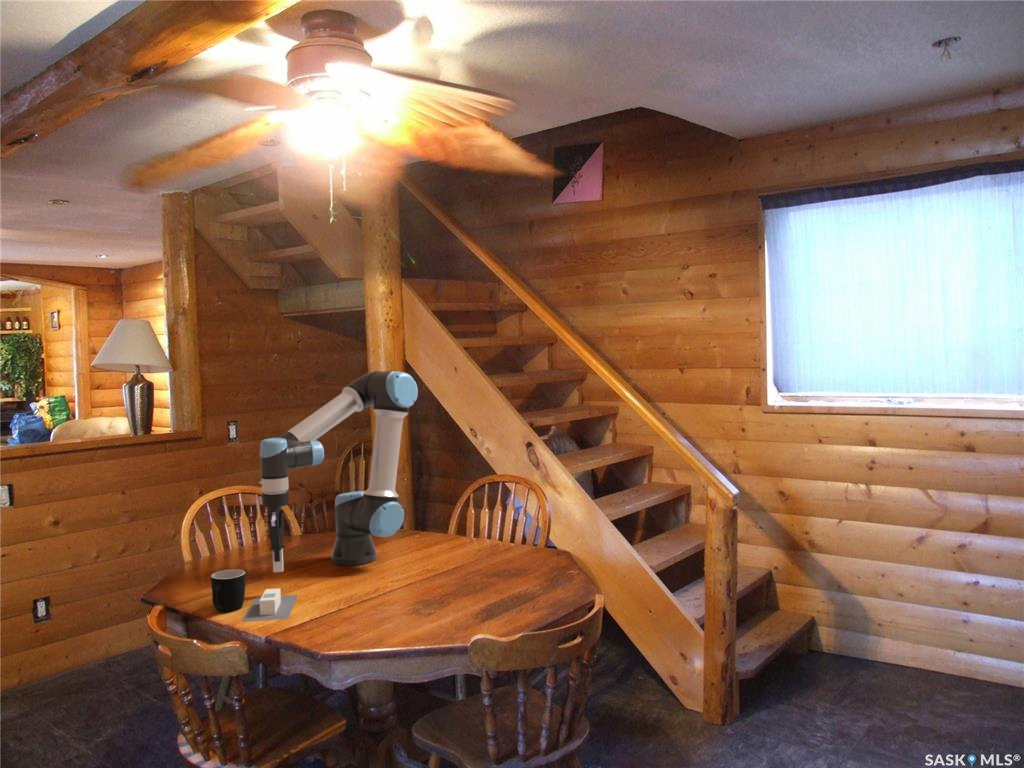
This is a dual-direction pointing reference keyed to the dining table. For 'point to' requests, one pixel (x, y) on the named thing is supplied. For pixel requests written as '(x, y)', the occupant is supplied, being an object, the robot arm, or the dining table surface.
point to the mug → (228, 590)
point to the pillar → (270, 601)
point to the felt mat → (281, 613)
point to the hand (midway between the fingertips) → (278, 571)
